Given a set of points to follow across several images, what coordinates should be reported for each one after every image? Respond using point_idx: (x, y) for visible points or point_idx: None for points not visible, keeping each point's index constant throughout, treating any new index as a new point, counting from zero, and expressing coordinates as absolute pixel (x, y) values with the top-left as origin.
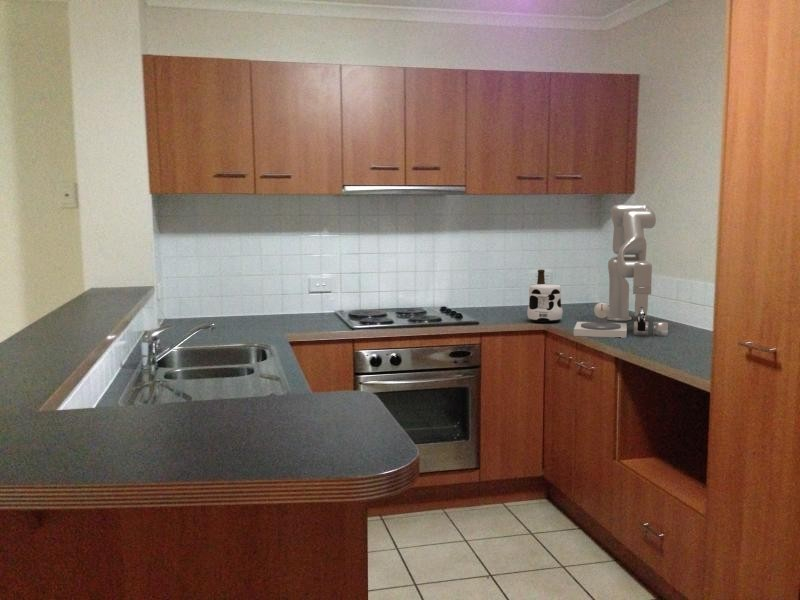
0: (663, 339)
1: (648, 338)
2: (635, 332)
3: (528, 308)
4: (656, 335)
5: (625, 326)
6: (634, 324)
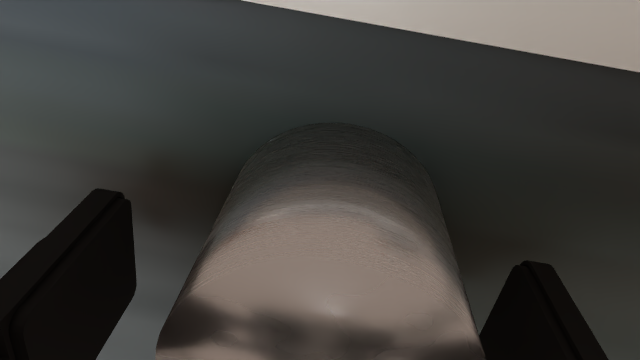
0: None
1: (16, 240)
2: (269, 155)
3: None
4: None
5: (487, 10)
6: (277, 225)
